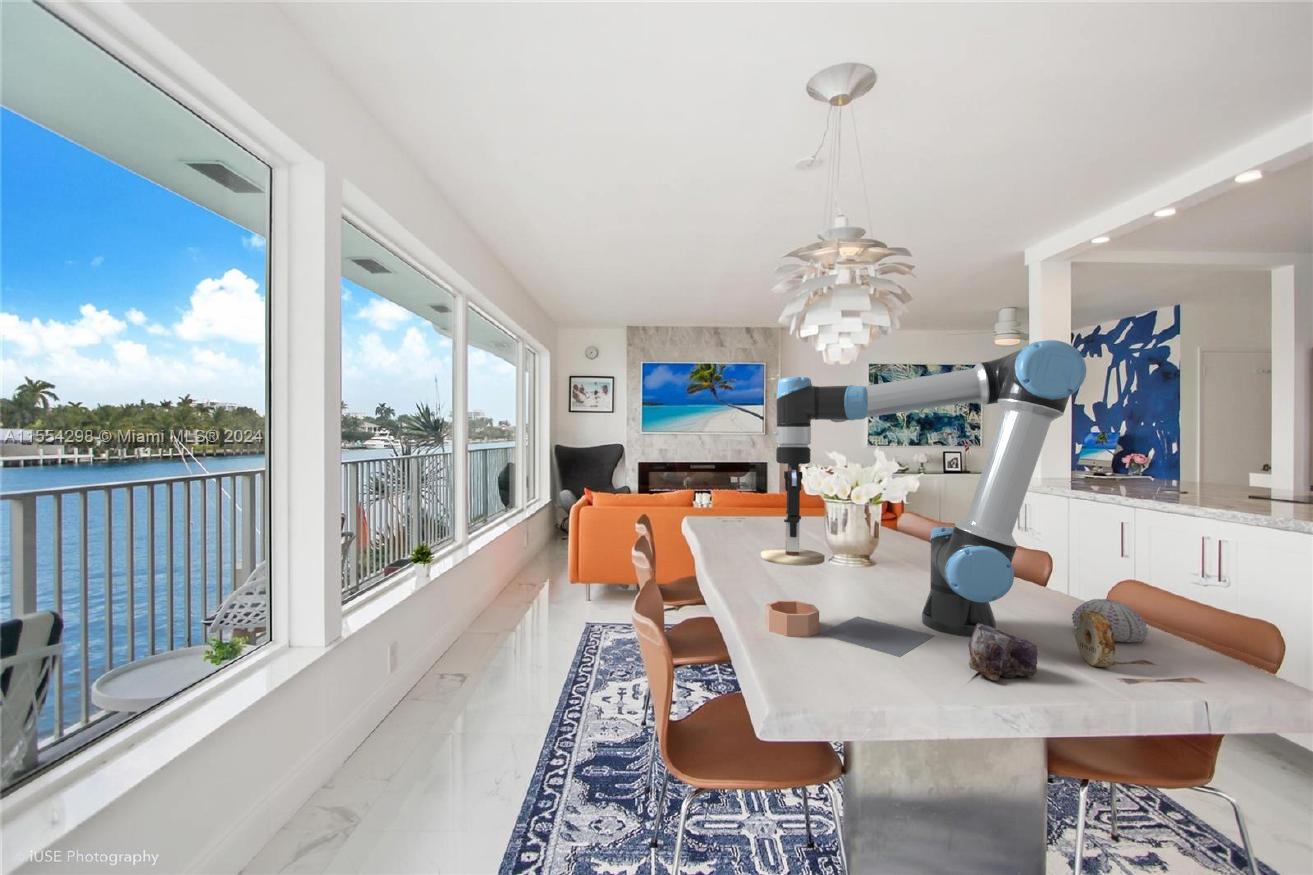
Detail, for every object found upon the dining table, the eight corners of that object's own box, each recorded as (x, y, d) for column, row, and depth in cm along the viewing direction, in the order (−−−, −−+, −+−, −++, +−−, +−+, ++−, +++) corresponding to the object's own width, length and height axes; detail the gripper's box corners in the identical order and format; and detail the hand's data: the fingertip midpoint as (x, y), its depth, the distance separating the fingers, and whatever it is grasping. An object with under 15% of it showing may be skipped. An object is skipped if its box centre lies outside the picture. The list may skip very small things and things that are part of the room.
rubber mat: (935, 637, 125) (935, 635, 125) (899, 658, 113) (899, 656, 113) (857, 618, 138) (857, 616, 138) (818, 635, 126) (818, 633, 126)
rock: (1042, 691, 102) (1004, 667, 112) (1050, 644, 101) (1012, 624, 112) (979, 681, 101) (947, 658, 111) (987, 634, 101) (955, 615, 111)
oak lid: (836, 559, 129) (836, 515, 129) (802, 568, 120) (803, 521, 120) (783, 550, 139) (783, 509, 139) (748, 558, 130) (748, 514, 130)
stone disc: (1120, 675, 106) (1120, 621, 106) (1096, 673, 107) (1096, 619, 107) (1095, 655, 116) (1095, 605, 116) (1073, 653, 117) (1074, 604, 117)
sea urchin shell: (1061, 624, 135) (1062, 590, 135) (1129, 629, 132) (1130, 594, 132) (1087, 643, 122) (1087, 606, 122) (1163, 650, 119) (1163, 611, 119)
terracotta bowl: (826, 630, 129) (826, 608, 129) (799, 642, 122) (799, 618, 122) (785, 618, 137) (785, 597, 137) (757, 629, 130) (757, 607, 130)
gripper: (776, 445, 138) (775, 542, 138) (776, 446, 122) (775, 556, 122) (808, 445, 137) (807, 544, 137) (813, 446, 121) (812, 557, 121)
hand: (792, 549), depth 129 cm, fingers closed on oak lid, 3 cm apart
